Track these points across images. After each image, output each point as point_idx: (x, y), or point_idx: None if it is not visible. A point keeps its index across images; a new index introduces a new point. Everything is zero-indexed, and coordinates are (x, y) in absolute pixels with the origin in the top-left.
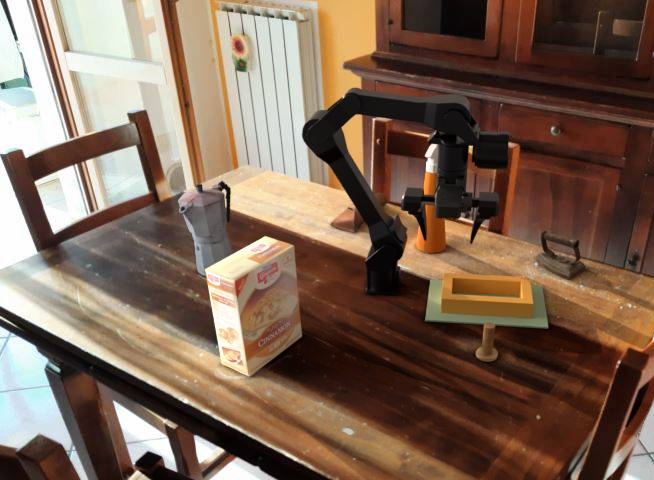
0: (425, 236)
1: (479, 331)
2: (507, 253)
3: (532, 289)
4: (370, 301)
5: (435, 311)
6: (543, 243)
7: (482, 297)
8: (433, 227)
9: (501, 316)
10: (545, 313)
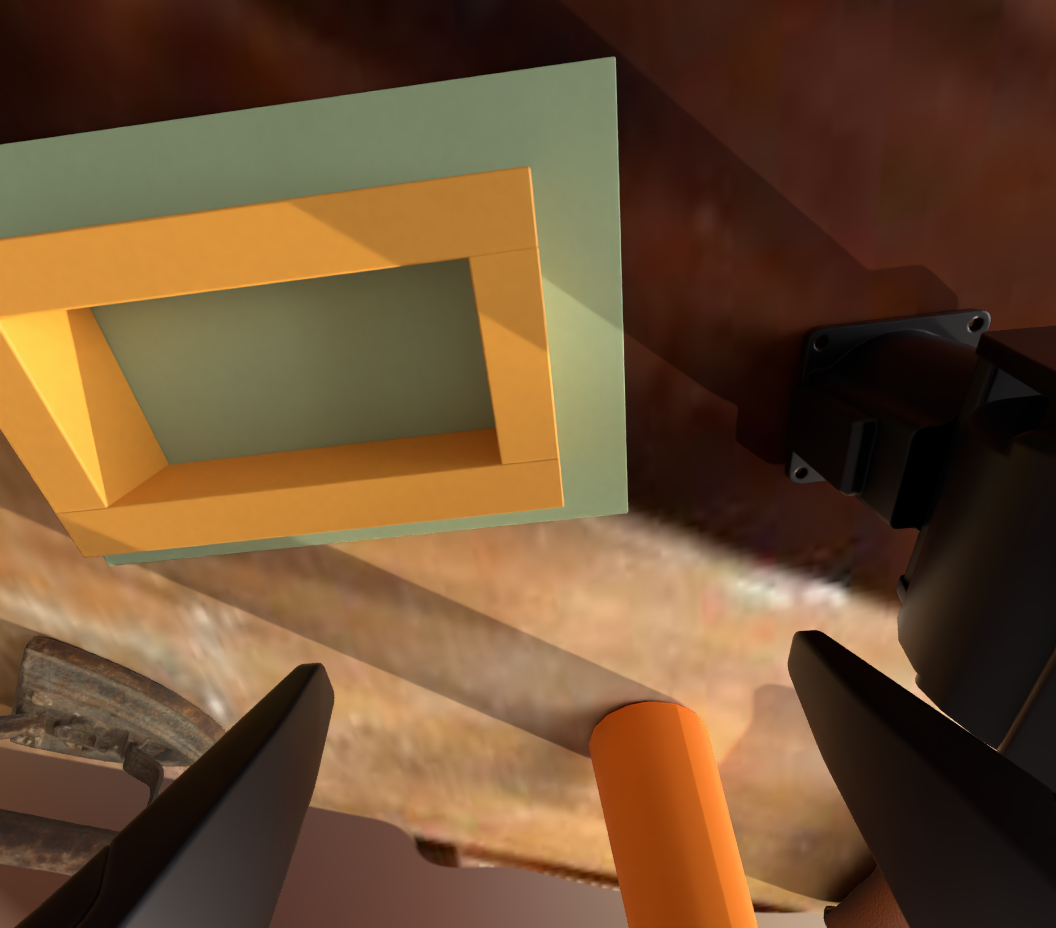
0: (840, 668)
1: (242, 12)
2: (347, 747)
3: None
4: (957, 236)
5: (562, 189)
6: None
7: (247, 258)
8: (668, 832)
9: None
10: None
